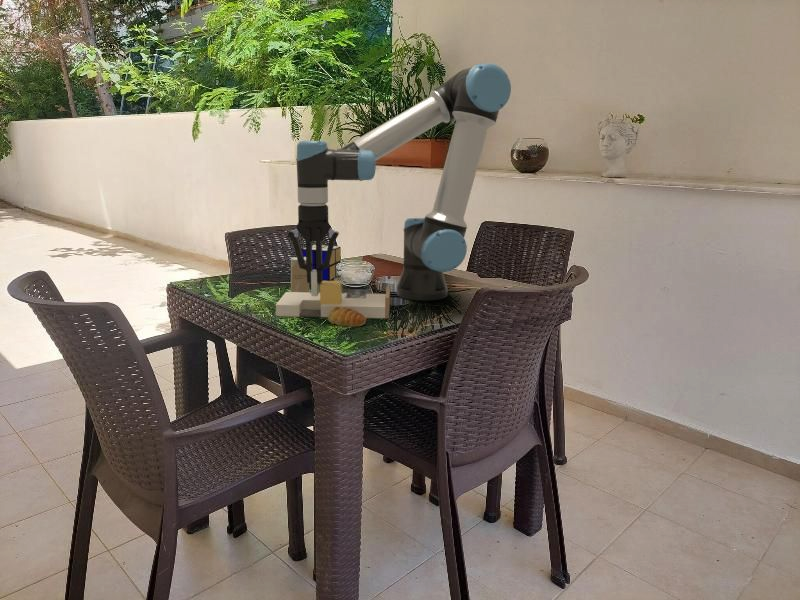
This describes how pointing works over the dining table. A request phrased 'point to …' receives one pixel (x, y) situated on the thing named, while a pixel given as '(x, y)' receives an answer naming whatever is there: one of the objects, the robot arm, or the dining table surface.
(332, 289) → the ochre block
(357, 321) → the pastry
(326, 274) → the puzzle cube
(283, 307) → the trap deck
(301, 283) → the box
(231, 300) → the dining table surface
